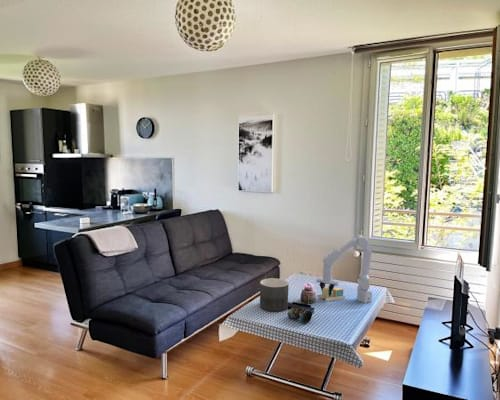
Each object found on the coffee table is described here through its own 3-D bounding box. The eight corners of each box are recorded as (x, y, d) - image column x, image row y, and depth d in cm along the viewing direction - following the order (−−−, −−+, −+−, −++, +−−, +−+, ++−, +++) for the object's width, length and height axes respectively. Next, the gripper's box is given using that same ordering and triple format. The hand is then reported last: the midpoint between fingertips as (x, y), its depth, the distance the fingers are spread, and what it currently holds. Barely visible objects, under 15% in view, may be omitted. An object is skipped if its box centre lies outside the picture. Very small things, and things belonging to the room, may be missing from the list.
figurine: (306, 316, 213) (284, 306, 223) (306, 328, 216) (285, 318, 226) (314, 308, 219) (293, 299, 229) (314, 320, 222) (293, 310, 232)
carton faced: (335, 299, 255) (336, 290, 254) (332, 297, 258) (332, 288, 258) (343, 297, 257) (343, 289, 257) (339, 296, 261) (339, 287, 260)
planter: (286, 313, 232) (286, 288, 231) (257, 310, 236) (257, 285, 234) (289, 303, 250) (289, 279, 248) (262, 300, 253) (262, 277, 252)
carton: (327, 298, 252) (328, 289, 251) (322, 297, 254) (322, 288, 253) (331, 296, 257) (331, 287, 256) (325, 295, 259) (325, 286, 258)
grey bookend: (344, 300, 256) (344, 295, 256) (326, 303, 250) (326, 298, 250) (333, 294, 267) (333, 290, 267) (315, 297, 261) (315, 292, 261)
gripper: (340, 274, 253) (339, 294, 255) (319, 271, 261) (318, 290, 262) (336, 277, 247) (335, 298, 249) (315, 273, 255) (314, 293, 257)
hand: (326, 294), depth 255 cm, fingers closed on carton, 4 cm apart
